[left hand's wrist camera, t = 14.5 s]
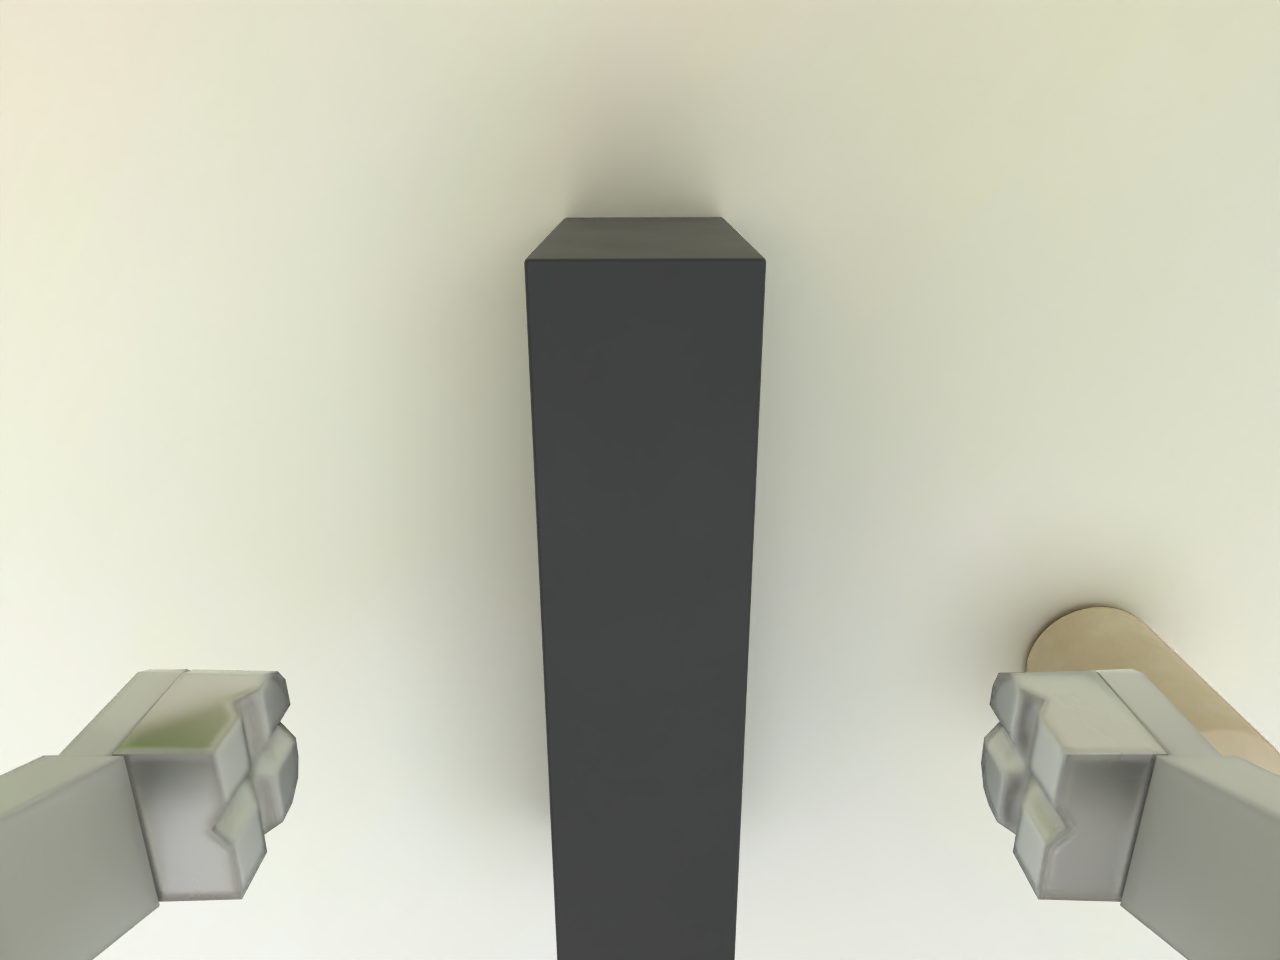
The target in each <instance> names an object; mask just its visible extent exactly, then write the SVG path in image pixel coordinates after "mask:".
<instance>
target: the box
mask: <svg viewBox="0 0 1280 960" xmlns="http://www.w3.org/2000/svg"><path fill="white" fill-rule="evenodd" d="M524 265H525V286H526V307H527V328H528V349H529V370H530V392H531V413H532V434H533V455H534V476H535V497H536V518H537V540H538V561H539V582H540V603H541V624H542V645H543V666H544V688H545V709H546V730H547V751H548V772H549V793H550V814H551V836H552V857H553V878H554V899H555V920H556V941H557V960H734V959H735V937H736V915H737V893H738V871H739V848H740V826H741V804H742V782H743V760H744V738H745V716H746V693H747V671H748V649H749V627H750V605H751V583H752V561H753V538H754V516H755V494H756V472H757V450H758V428H759V406H760V383H761V361H762V339H763V317H764V295H765V273H766V261H765V259H764V258H763V257H762V256H761V255H760V254H759V253H758V252H757V251H756V250H755V249H754V248H753V247H752V246H751V245H750V244H749V243H748V242H747V241H746V240H745V239H744V238H743V237H742V236H741V235H740V234H739V233H738V232H737V231H736V230H735V229H733V228H732V227H731V226H730V225H729V224H728V223H727V222H726V221H725V220H724V219H723V218H721V217H707V218H565V219H564V220H563V221H562V222H561V223H560V224H559V225H558V226H557V227H556V228H555V229H554V230H553V231H552V232H551V233H550V234H549V236H548V237H547V238H546V239H545V240H544V241H543V242H542V243H541V244H540V245H539V246H538V247H537V248H536V249H535V250H534V251H533V252H532V253H531V254H530V255H529V257H528V258H527V259H526V260H525V262H524Z"/></svg>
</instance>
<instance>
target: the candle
mask: <svg viewBox="0 0 1280 960" xmlns="http://www.w3.org/2000/svg"><path fill="white" fill-rule="evenodd" d="M1112 669H1134V670H1136V671H1138V672H1141V673H1143V674H1144V675H1145V676H1146V677H1147V678H1148V679H1149V680H1150V681H1151V682H1152V683H1153V684H1154V685H1155V686H1156V687H1157V688H1158V689H1159V690H1160V691H1161V692H1162V693H1163V695H1164V696H1165V697H1166V698H1167V699H1168V700H1169V701H1170V702H1171V703H1172V704H1173V705H1174V706H1175V707H1176V708H1177V709H1178V710H1179V711H1180V712H1181V713H1182V714H1183V715H1184V717H1185V718H1186V719H1187V720H1188V721H1189V722H1190V723H1191V724H1192V725H1193V726H1194V727H1195V728H1196V729H1197V730H1198V731H1199V732H1200V733H1201V734H1202V735H1203V736H1204V737H1205V739H1206V740H1207V741H1208V742H1209V743H1210V744H1211V745H1212V746H1213V747H1214V748H1215V749H1216V750H1217V751H1218V752H1219V753H1220V754H1221V755H1222V756H1238V757H1240V758H1243V759H1245V760H1247V761H1249V762H1251V763H1253V764H1255V765H1258V766H1260V767H1262V768H1264V769H1266V770H1268V771H1270V772H1273V773H1275V774H1277V775H1279V776H1280V754H1279V753H1278V751H1277V750H1276V749H1275V748H1274V747H1273V746H1272V745H1271V744H1270V743H1269V742H1268V741H1267V740H1266V739H1265V738H1264V737H1263V736H1262V735H1261V734H1260V733H1259V732H1258V731H1257V730H1256V729H1255V728H1254V727H1253V726H1251V725H1250V724H1249V723H1248V722H1247V721H1246V720H1245V719H1244V718H1243V717H1242V716H1241V715H1240V714H1239V713H1238V712H1237V711H1236V710H1235V709H1234V708H1233V707H1232V706H1231V705H1230V704H1229V703H1227V702H1226V701H1225V700H1224V699H1223V698H1222V697H1221V696H1220V695H1219V694H1218V693H1217V692H1216V691H1215V690H1214V689H1213V688H1212V687H1211V686H1210V685H1209V684H1208V683H1207V682H1206V681H1205V680H1204V679H1202V678H1201V677H1200V676H1199V675H1198V674H1197V673H1196V672H1195V671H1194V670H1193V669H1192V668H1191V667H1190V666H1189V665H1188V664H1187V663H1186V662H1185V661H1184V660H1183V659H1182V658H1181V657H1180V656H1179V655H1177V654H1176V653H1175V652H1174V651H1173V650H1172V649H1171V648H1170V647H1169V646H1168V645H1167V644H1166V643H1165V642H1164V641H1163V640H1162V639H1161V638H1160V637H1159V636H1158V635H1157V634H1156V633H1155V632H1153V631H1152V630H1151V629H1150V628H1149V627H1148V626H1147V625H1146V624H1145V623H1144V622H1142V621H1141V620H1139V619H1138V618H1137V617H1135V616H1133V615H1131V614H1129V613H1127V612H1125V611H1122V610H1119V609H1115V608H1110V607H1092V608H1086V609H1082V610H1078V611H1075V612H1072V613H1070V614H1067V615H1065V616H1064V617H1062V618H1060V619H1058V620H1057V621H1055V622H1054V623H1052V624H1051V625H1050V626H1049V627H1048V628H1046V630H1045V631H1044V632H1043V633H1042V634H1041V635H1040V636H1039V637H1038V639H1037V640H1036V642H1035V643H1034V645H1033V647H1032V649H1031V651H1030V654H1029V657H1028V660H1027V668H1026V672H1056V671H1088V670H1112Z"/></svg>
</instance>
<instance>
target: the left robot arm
mask: <svg viewBox="0 0 1280 960" xmlns="http://www.w3.org/2000/svg"><path fill="white" fill-rule="evenodd" d="M289 706H290V700H289V695H288V690H287V685H286V680H285V679H284V678H283V676H282V675H281V674H280V673H279V672H278V671H233V670H191V671H190V670H187V669H161V670H146V671H142V672H138V673H137V674H136V675H135V676H134V677H133V678H132V679H131V680H130V681H129V682H128V683H127V684H126V685H125V686H124V687H123V688H122V689H121V691H120V692H119V693H118V694H117V695H116V696H115V697H114V698H113V699H112V700H111V701H110V702H109V703H108V704H107V705H106V706H105V707H104V708H103V709H102V710H101V711H100V712H99V714H98V715H97V716H96V717H95V718H94V719H93V720H92V721H91V722H90V723H89V724H88V725H87V726H86V727H85V728H84V729H83V730H82V731H81V732H80V733H79V734H78V735H77V737H76V738H75V739H74V740H73V741H72V742H71V743H70V744H69V745H68V746H67V747H66V748H65V749H64V750H63V751H62V752H61V753H60V754H59V755H58V756H42V757H40V758H37V759H35V760H33V761H31V762H29V763H27V764H25V765H22V766H20V767H18V768H16V769H14V770H12V771H10V772H7V773H5V774H3V775H1V776H0V960H93V959H94V958H95V957H96V956H98V955H99V954H100V953H101V952H103V951H104V950H105V949H106V948H108V947H109V946H110V945H111V944H113V943H114V942H115V941H116V940H118V939H119V938H120V937H121V936H123V935H124V934H125V933H126V932H128V931H129V930H130V929H131V928H133V927H134V926H135V925H136V924H138V923H139V922H140V921H141V920H142V919H144V918H145V917H146V916H147V915H149V914H150V913H151V912H152V911H154V910H155V909H156V908H157V907H159V902H162V901H197V900H232V899H242V898H243V896H244V894H245V892H246V890H247V889H248V887H249V885H250V883H251V881H252V879H253V877H254V875H255V874H256V872H257V870H258V868H259V866H260V864H261V862H262V860H263V858H264V857H265V855H266V853H267V849H266V843H265V837H264V834H266V833H267V832H269V831H270V830H272V829H273V828H274V827H276V826H277V825H279V824H280V823H282V822H283V820H284V818H285V816H286V814H287V812H288V810H289V808H290V806H291V804H292V801H293V797H294V793H295V788H296V784H297V780H298V750H297V743H296V737H295V736H294V735H293V734H292V733H291V732H290V731H289V730H288V729H287V728H286V727H285V726H284V725H283V724H282V723H281V722H280V721H281V719H282V717H283V716H284V714H285V712H286V711H287V709H288V708H289ZM990 706H991V707H992V709H993V711H994V712H995V714H996V716H997V717H998V719H999V721H1000V722H999V723H998V724H997V725H996V726H995V727H994V728H993V729H992V730H991V731H990V732H989V733H988V734H987V735H986V736H985V737H984V745H983V753H982V761H981V765H982V776H983V787H984V790H985V794H986V797H987V801H988V804H989V806H990V808H991V810H992V812H993V814H994V816H995V818H996V820H997V822H998V823H1000V824H1001V825H1003V826H1004V827H1006V828H1007V829H1008V830H1010V831H1011V832H1013V833H1014V834H1016V837H1015V843H1014V849H1013V853H1014V855H1015V857H1016V858H1017V860H1018V862H1019V864H1020V866H1021V868H1022V870H1023V872H1024V873H1025V875H1026V877H1027V879H1028V881H1029V883H1030V885H1031V886H1032V888H1033V890H1034V892H1035V894H1036V896H1037V898H1038V899H1046V900H1082V901H1118V902H1121V904H1120V905H1121V906H1122V907H1123V908H1124V909H1125V910H1127V911H1128V912H1129V913H1130V914H1132V915H1133V916H1134V917H1135V918H1137V919H1138V920H1139V921H1140V922H1142V923H1143V924H1144V925H1145V926H1147V927H1148V928H1149V929H1150V930H1152V931H1153V932H1154V933H1155V934H1157V935H1158V936H1159V937H1160V938H1161V939H1163V940H1164V941H1165V942H1166V943H1168V944H1169V945H1170V946H1171V947H1173V948H1174V949H1175V950H1176V951H1178V952H1179V953H1180V954H1181V955H1183V956H1184V957H1185V958H1186V959H1188V960H1280V776H1279V775H1277V774H1275V773H1273V772H1270V771H1268V770H1266V769H1264V768H1262V767H1260V766H1258V765H1255V764H1253V763H1251V762H1249V761H1247V760H1245V759H1243V758H1240V757H1238V756H1222V755H1221V754H1220V753H1219V752H1218V751H1217V750H1216V749H1215V748H1214V747H1213V746H1212V745H1211V744H1210V743H1209V742H1208V741H1207V740H1206V739H1205V737H1204V736H1203V735H1202V734H1201V733H1200V732H1199V731H1198V730H1197V729H1196V728H1195V727H1194V726H1193V725H1192V724H1191V723H1190V722H1189V721H1188V720H1187V719H1186V718H1185V717H1184V715H1183V714H1182V713H1181V712H1180V711H1179V710H1178V709H1177V708H1176V707H1175V706H1174V705H1173V704H1172V703H1171V702H1170V701H1169V700H1168V699H1167V698H1166V697H1165V696H1164V695H1163V693H1162V692H1161V691H1160V690H1159V689H1158V688H1157V687H1156V686H1155V685H1154V684H1153V683H1152V682H1151V681H1150V680H1149V679H1148V678H1147V677H1146V676H1145V675H1144V674H1143V673H1141V672H1138V671H1136V670H1134V669H1112V670H1088V671H1056V672H1016V673H999V674H998V676H997V678H996V680H995V682H994V684H993V688H992V694H991V700H990Z"/></svg>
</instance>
